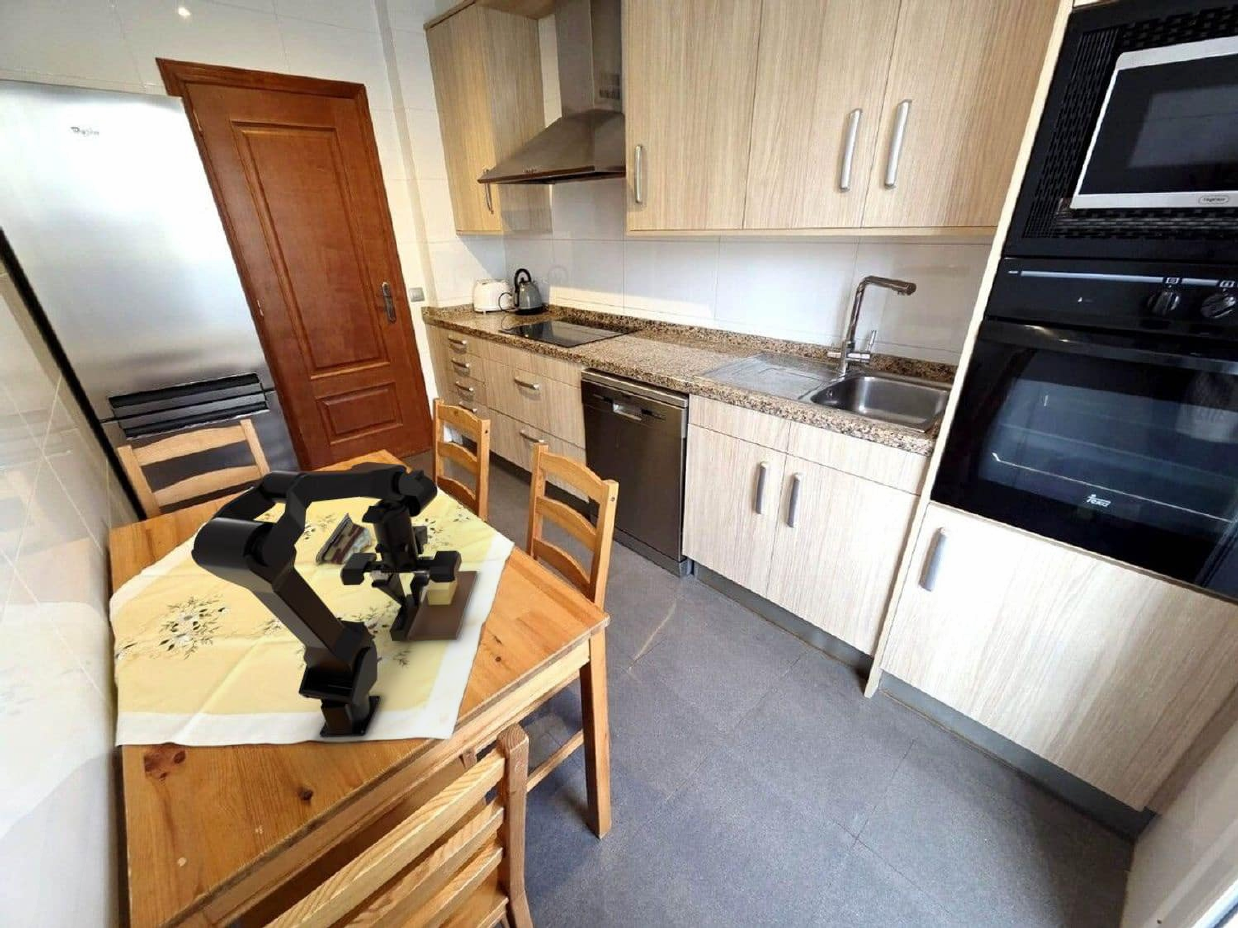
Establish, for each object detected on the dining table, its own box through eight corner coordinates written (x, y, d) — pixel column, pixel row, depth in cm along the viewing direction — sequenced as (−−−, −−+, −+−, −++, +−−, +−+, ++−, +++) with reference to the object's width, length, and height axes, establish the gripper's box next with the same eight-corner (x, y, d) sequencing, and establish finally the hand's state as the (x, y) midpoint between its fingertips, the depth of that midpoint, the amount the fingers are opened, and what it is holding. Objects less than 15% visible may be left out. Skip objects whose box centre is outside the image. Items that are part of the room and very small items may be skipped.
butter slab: (448, 593, 95) (447, 589, 94) (427, 594, 95) (426, 589, 94) (456, 573, 100) (455, 568, 100) (435, 574, 100) (434, 569, 100)
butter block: (450, 604, 96) (448, 594, 95) (429, 604, 96) (426, 594, 95) (457, 583, 101) (456, 573, 100) (437, 584, 101) (435, 574, 100)
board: (456, 639, 90) (455, 635, 89) (399, 641, 89) (398, 636, 89) (477, 574, 106) (476, 570, 105) (429, 575, 105) (428, 571, 105)
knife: (406, 641, 84) (403, 630, 83) (391, 641, 84) (388, 630, 83) (439, 562, 103) (437, 553, 102) (427, 563, 103) (425, 553, 101)
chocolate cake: (342, 573, 106) (369, 520, 109) (311, 561, 106) (339, 509, 109) (362, 575, 115) (386, 526, 118) (333, 564, 116) (358, 516, 119)
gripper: (462, 505, 91) (473, 574, 98) (357, 507, 90) (375, 576, 97) (447, 542, 81) (460, 615, 88) (328, 544, 80) (350, 618, 87)
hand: (411, 604), depth 90 cm, fingers closed on knife, 2 cm apart
